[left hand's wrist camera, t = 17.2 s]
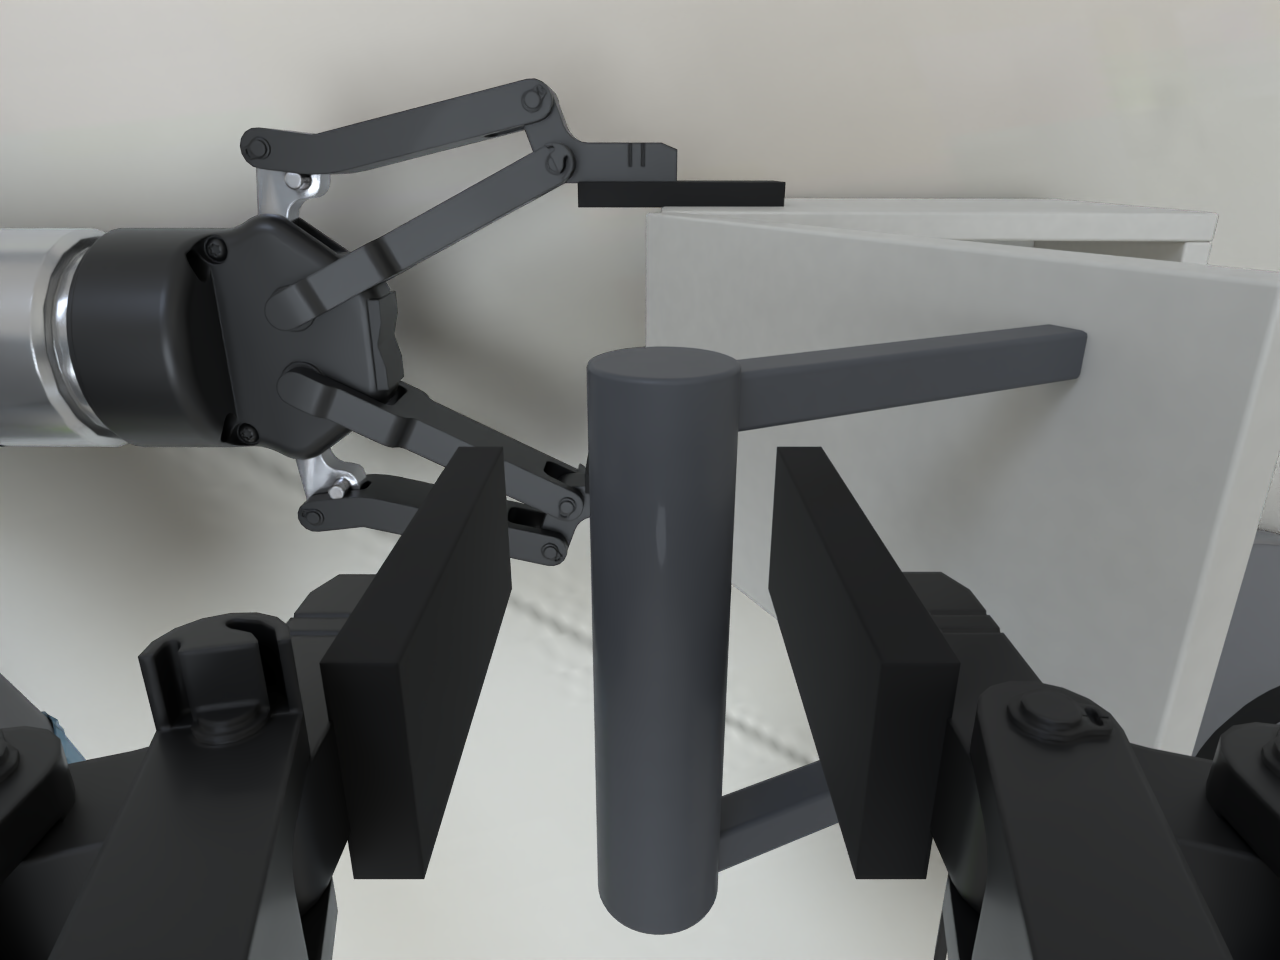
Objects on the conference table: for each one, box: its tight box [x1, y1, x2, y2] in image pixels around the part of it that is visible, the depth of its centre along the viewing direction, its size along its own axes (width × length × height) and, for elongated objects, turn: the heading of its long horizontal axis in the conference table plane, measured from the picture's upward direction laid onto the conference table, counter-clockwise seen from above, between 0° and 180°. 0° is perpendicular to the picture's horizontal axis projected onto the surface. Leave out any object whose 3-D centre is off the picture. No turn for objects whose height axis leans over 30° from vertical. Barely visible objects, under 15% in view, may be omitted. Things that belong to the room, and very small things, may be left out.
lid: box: [587, 212, 1280, 935], centre depth 16 cm, size 16×9×8 cm
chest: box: [661, 198, 1219, 265], centre depth 30 cm, size 16×9×11 cm, turn 90°
